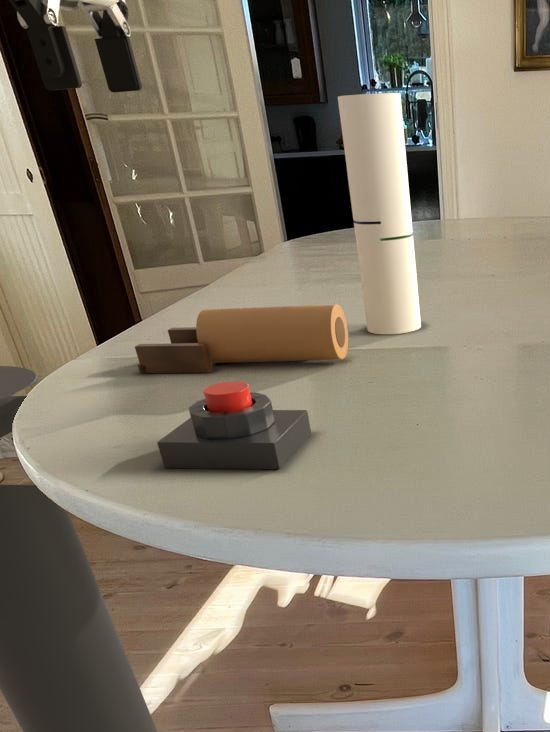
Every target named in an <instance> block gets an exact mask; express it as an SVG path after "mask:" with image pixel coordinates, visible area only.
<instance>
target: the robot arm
mask: <svg viewBox="0 0 550 732" xmlns="http://www.w3.org/2000/svg"><path fill="white" fill-rule="evenodd" d="M8 1H9V3H10V4H11V5H12V6H13V8H14V9H15V11H16V16H17V20H18V22H19V24H20V26H21V27H22V28H23V29H25V30H26V33H27V36H28V40H29V42H30V46H31V49H32V52H33V55H34V57H35V60H36V61H35V62H36V64H37V68H38V70H39V73H40V76H41V79H42V83H43V85H44V87H45V89H46V90H48V91H61V90H72V89H81V87H82V86H83V82H82V79H81V78H82V77H81V75H80V72H79V68H78V65H77V62H76V59H75V55H74V52H73V48H72V45H71V41H70V38H69V35H68V31H67V28H66V26H64V25H59V17H60V10H62V11H68V12H72V11H77V10H78V9H79V8H80V9H81V10H82V11H83V13H84V15H85V16H86V18H87V20H88V21H89V23H90V25H91V26H92V28H93V30H94V31H95V32H96V34H97V36H98V37H99V38H94V42H95V46H96V49H97V52H98V56H99V60H100V64H101V68H102V70H103V74H104V78H105V81H106V84H107V88H108V91H109V92H111V93H126V92H138V91H141V90H142V88H143V85H142V80H141V77H140V73H139V70H138V69H139V68H138V66H137V62H136V57H135V55H134V51H133V47H132V43H131V39H130V37H131V34H132V33H131V28H130V25H129V23H128V20H129V8H128V6H127V2H126V0H8ZM99 12H102V16H101V13H99Z"/></svg>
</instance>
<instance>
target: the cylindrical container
mask: <svg viewBox="0 0 550 732" xmlns="http://www.w3.org/2000/svg"><path fill="white" fill-rule="evenodd" d="M337 103H338V110H339V118H340V127H341V135H342V143H343V149H344V157H345V163H346V164H345V165H346V173H347V182H348V190H349V197H350V204H351V213H352V219H353V228H354V235H355V243H356V250H357V251H356V252H357V259H358V266H359V274H360V282H361V289H362V290H361V291H362V296H363V297H362V298H363V305H364V306H363V307H364V313H365V320H366V321H365V322H366V327H367V328H366V330H367V332H369V333H371V334H375V335H400V334H406V333H411V332H414V331H417V330H420V328H422V321H421V311H420V300H419V299H420V298H419V288H418V287H419V286H418V277H417V276H418V275H417V265H416V264H417V263H416V253H415V243H414V242H415V241H414V234H413V219H412V209H411V198H410V197H411V196H410V187H409V184H410V183H409V175H408V174H409V173H408V164H407V162H408V161H407V152H406V140H405V130H404V129H405V128H404V120H403V119H404V118H403V117H404V116H403V106H402V97H401V92H385V93H384V92H380V93H379V92H378V93H361V94H348V95H347V94H346V95H338V96H337Z"/></svg>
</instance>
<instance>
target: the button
mask: <svg viewBox="0 0 550 732" xmlns="http://www.w3.org/2000/svg"><path fill="white" fill-rule="evenodd" d="M250 392H251V391H250V386H249V384H248V383H246V382H244V381H224V382H223V381H222V382H218V383H213V384H211V385H209V386H207V387H205V388H204V389H203V390H202V393H203V397H204V399H205V400H206V404H207V408H208V411H209V412H213V413H226V412H232V411H239V410H242V409H245V408H248V407H251V406H252V405H253V403H252V399H251V395H250Z"/></svg>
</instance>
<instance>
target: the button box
mask: <svg viewBox="0 0 550 732" xmlns="http://www.w3.org/2000/svg"><path fill="white" fill-rule="evenodd" d="M250 395H251V399H252V403H253V405H252V406H251V407H248V408H245V409H242V410H239V411H232V412H226V413H213V412H209V411H208V408H207V404H206V400H205V398H203V399H200V400H197V401H196V402H195V403H193V404H192V405H190V406H189V407H188V411H189V418H188V419H186V420H185V421H184V422H182V423H181V424H179V425H178V426H176V428H174V429H173V430H172V431H170V432H169V433H168V434H166V435H165V436H163V437H162V438H161V439H159V440H158V441H157V442H156V444H157V447H158V450H159V453H160V457H161V460H162V464H163V467H164V468H165V469H216V470H217V469H221V470H223V469H227V470H229V469H230V470H237V469H238V470H281V469H282V467H284V465H285V464H286V463H287V462H288V461H289V460H290V459H291V458H292V457H293V455H295V453H296V452H297V451H298V450H299V449H300V447H302V445H304V443H306V441H307V440H308V439H309V438H310V437H311V436H312V429H311V423H310V418H309V417H310V416H309V413H308V410H307V409H273V404H272V400H271V399H270V397H269V395H267V394H265V393H261V392H260V393H259V392H256V391H250Z"/></svg>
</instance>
